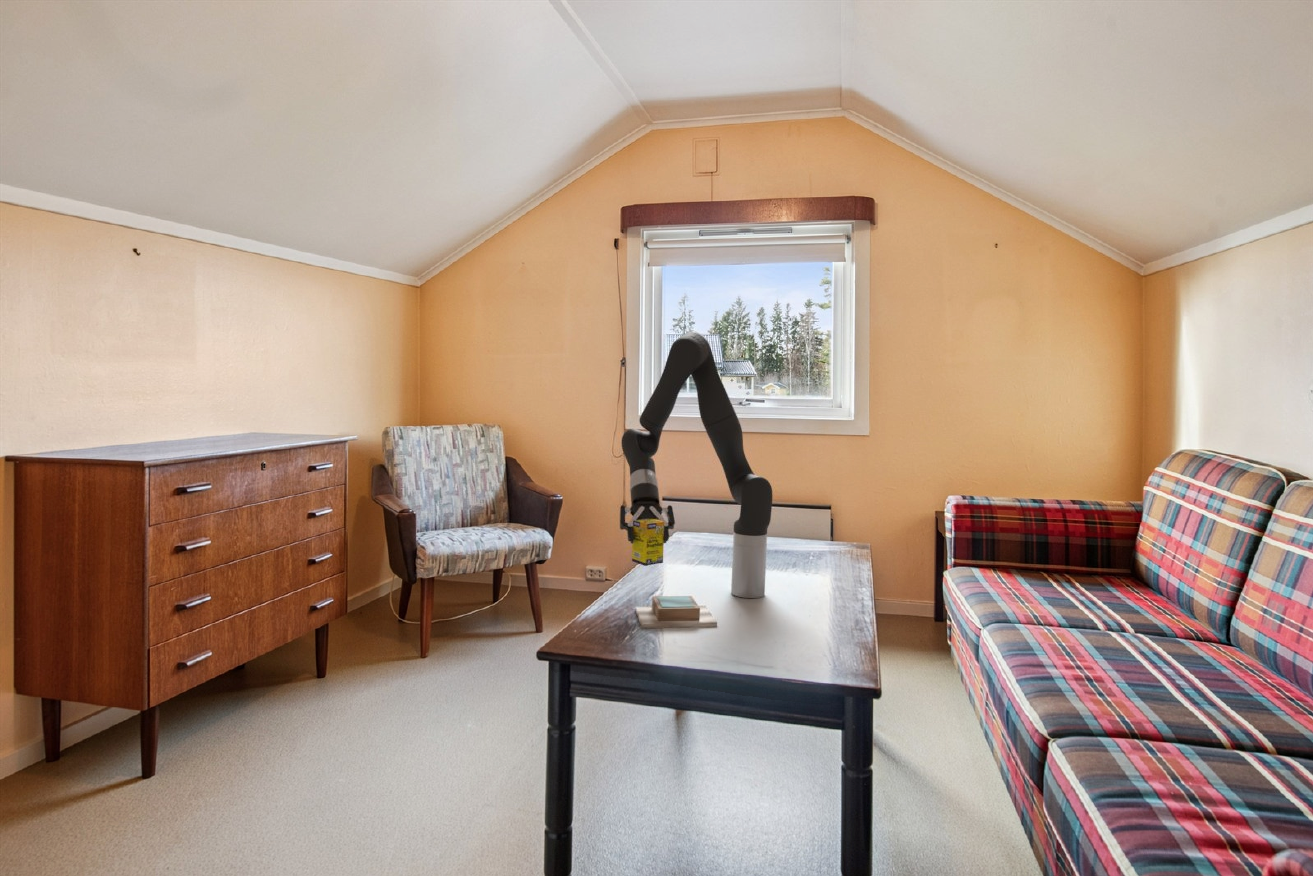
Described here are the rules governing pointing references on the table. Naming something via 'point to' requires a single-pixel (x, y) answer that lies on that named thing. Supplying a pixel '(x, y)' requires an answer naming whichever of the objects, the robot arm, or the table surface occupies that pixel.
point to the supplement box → (648, 541)
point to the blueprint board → (654, 623)
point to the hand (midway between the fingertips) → (648, 541)
